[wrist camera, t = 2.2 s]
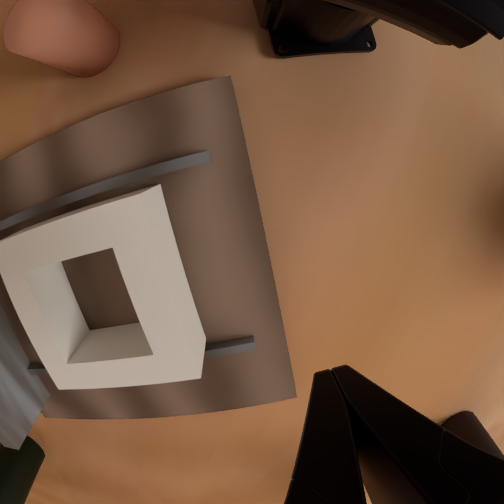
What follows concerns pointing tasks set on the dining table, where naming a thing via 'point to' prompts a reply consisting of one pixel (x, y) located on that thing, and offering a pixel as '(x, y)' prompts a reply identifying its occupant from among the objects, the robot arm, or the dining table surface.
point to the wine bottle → (19, 471)
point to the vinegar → (472, 432)
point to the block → (137, 283)
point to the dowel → (62, 35)
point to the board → (189, 246)
